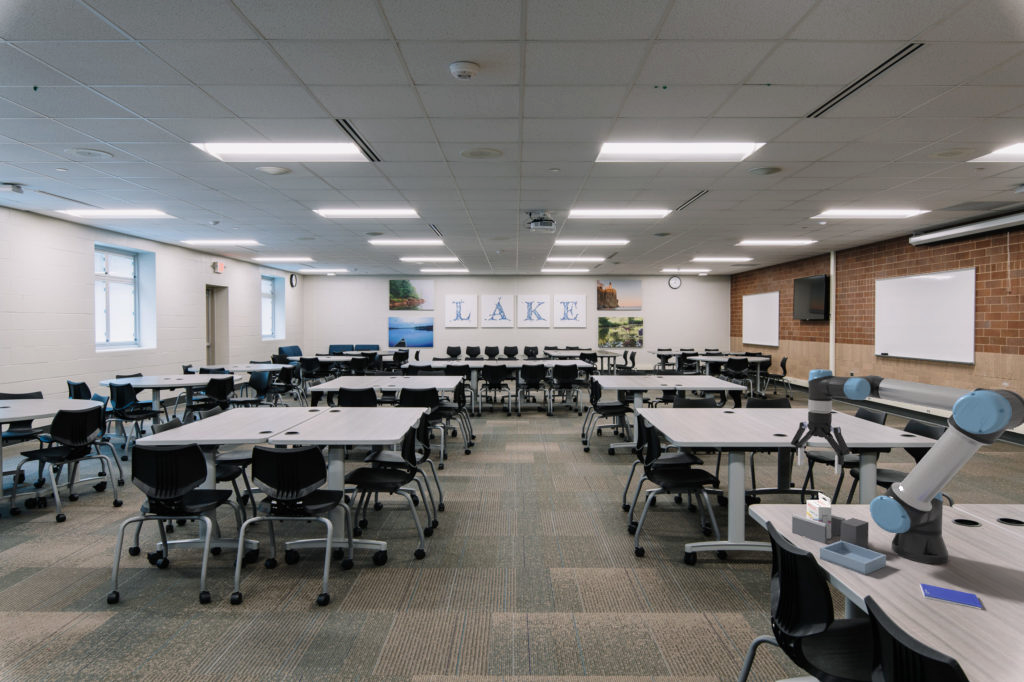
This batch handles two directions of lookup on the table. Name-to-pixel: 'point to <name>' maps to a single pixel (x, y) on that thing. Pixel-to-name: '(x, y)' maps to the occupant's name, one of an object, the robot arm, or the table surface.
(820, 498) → the ink cartridge box
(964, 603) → the hard drive
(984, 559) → the table surface
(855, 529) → the dark gray block
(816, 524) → the pair of grey slabs
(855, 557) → the tray
